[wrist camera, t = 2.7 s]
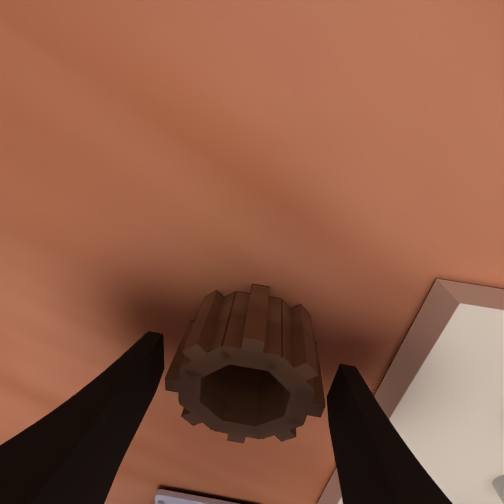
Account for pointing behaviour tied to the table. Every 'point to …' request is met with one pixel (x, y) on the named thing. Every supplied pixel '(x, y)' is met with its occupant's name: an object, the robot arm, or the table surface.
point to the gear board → (450, 393)
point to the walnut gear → (248, 367)
